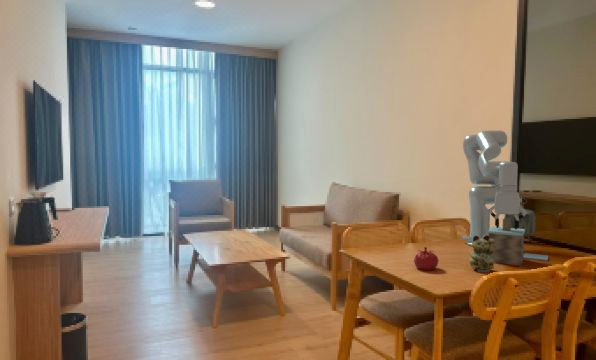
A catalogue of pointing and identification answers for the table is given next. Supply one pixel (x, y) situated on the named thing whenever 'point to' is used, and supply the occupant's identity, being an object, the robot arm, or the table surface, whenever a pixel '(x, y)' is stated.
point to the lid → (507, 229)
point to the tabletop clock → (524, 221)
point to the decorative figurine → (482, 254)
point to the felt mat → (535, 257)
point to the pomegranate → (426, 260)
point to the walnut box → (507, 249)
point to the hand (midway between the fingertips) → (506, 228)
